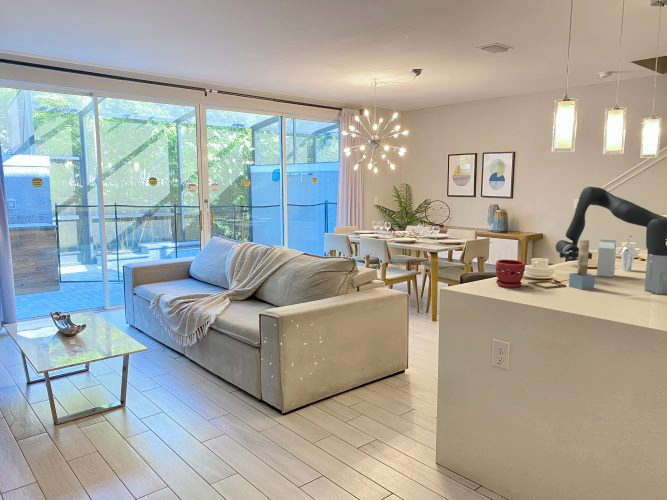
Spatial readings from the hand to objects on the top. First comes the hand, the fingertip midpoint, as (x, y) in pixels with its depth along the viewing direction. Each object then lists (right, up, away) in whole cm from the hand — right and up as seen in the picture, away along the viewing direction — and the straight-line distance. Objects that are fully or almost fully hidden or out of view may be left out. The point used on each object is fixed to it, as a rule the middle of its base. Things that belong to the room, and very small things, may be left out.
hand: (578, 257), depth 239 cm
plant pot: (-33, -14, 0) cm, 36 cm away
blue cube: (-3, -15, -9) cm, 17 cm away
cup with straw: (+45, -8, +37) cm, 59 cm away
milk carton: (+26, -10, +23) cm, 36 cm away
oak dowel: (-3, -14, -9) cm, 17 cm away
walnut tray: (-17, -14, -3) cm, 22 cm away
